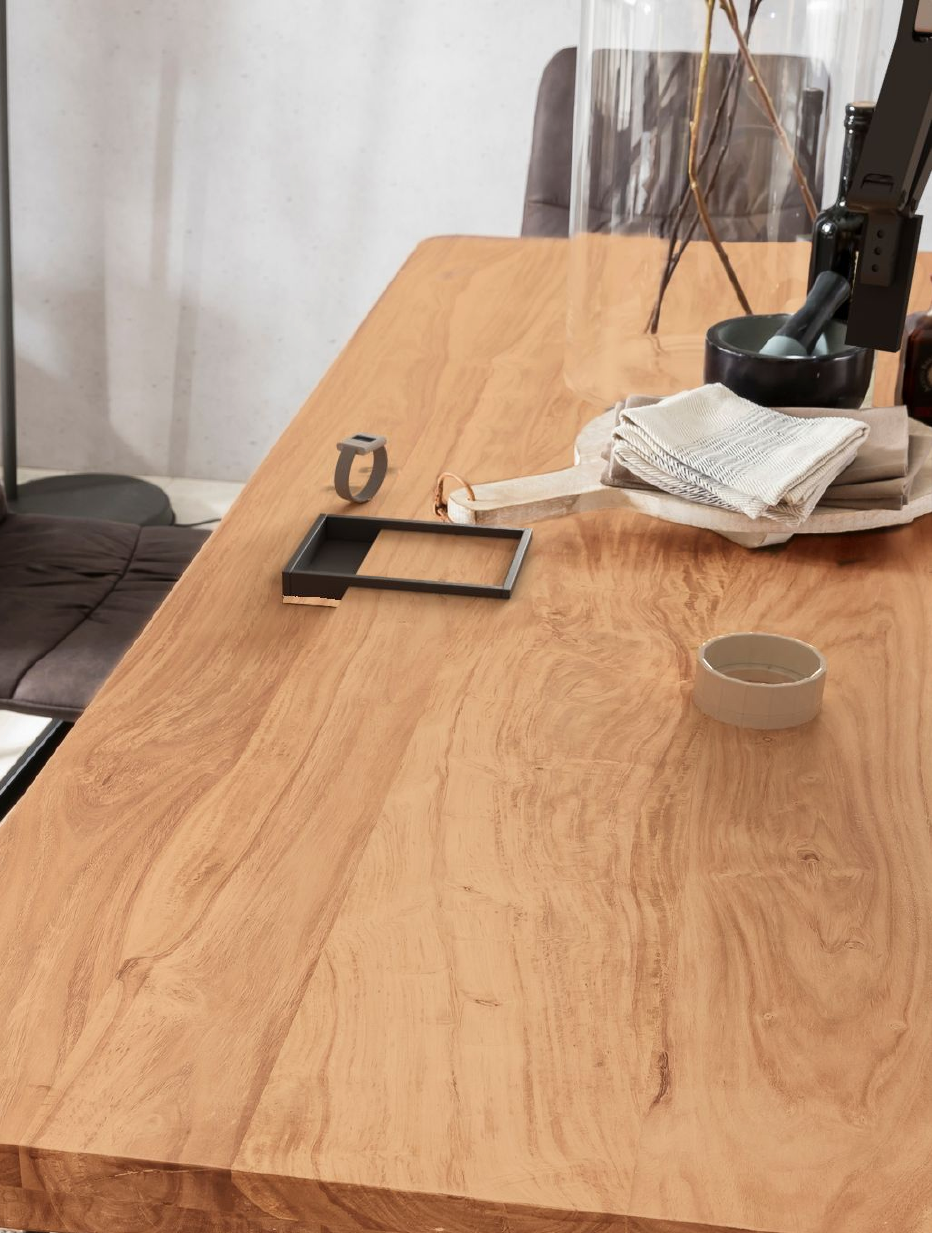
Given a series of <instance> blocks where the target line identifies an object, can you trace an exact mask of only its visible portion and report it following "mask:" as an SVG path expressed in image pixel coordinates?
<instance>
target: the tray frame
mask: <svg viewBox="0 0 932 1233" xmlns="http://www.w3.org/2000/svg"><path fill="white" fill-rule="evenodd" d="M317 516H318V517H317V518H316V519H315V520H314V522H313V524H312V526H311V527H310V529H309V530H308V531H307V533H306V535H305V536H304V537H303V539H302V541H301V542H300V543H299V545H298V546H297V548H296V550H295V551H294V553H293V554H292V556H291V557H290V559H289V560H288V561H287V563H286V565H285V566H284V567H283V569H282V571H281V589H282V590H281V592H282V594H281V595H282V596H283V595H284V596H295V597H296V596H298V597H320V598H327V599H335V600H341V601H343V600H342V599H343V598H344V597H345V595H346V593H347V591H348V589H349V588H363V589H374V590H375V589H376V590H387V591H397V592H398V591H402V592H412V593H413V592H414V593H423V594H424V593H425V594H437V595H448V596H449V595H450V596H463V597H474V598H487V599H498V600H499V599H500V600H511V597H512V594H513V592H514V589H515V586H516V584H517V581H518V578H519V575H520V573H521V570H522V567H523V566H524V562H525V560H526V556H527V553H528V551H529V548H530V545H531V543H532V540H533V533H534V529H533V528H528V527H516V526H515V527H513V526H502V525H501V526H500V525H488V524H487V525H485V524H474V523H460V522H445V521H432V520H420V519H419V520H418V519H405V518H391V517H390V518H389V517H379V516H378V517H377V516H362V515H350V514H336V513H324V512H323V513H319V515H317ZM382 530H386V531H400V532H412V533H413V532H415V533H427V534H430V533H431V534H439V535H453V536H454V535H455V536H465V537H467V536H468V537H469V536H470V537H482V538H495V539H509V540H511V539H512V540H519V543H518V546H517V549H516V551H515V554H514V557H513V559H512V561H511V564H510V567H509V570H508V573H507V575H506V577H505V580H504V583H503V585H491V584H490V585H489V584H479V583H478V584H476V583H466V582H465V583H464V582H453V581H452V582H451V581H440V580H429V579H427V580H426V579H414V578H403V577H389V576H377V575H367V574H365V575H364V574H357V573H358V572H359V570H360V569H361V567H362V565H363V563H364V561H365V559H366V557H367V556H368V554H369V552H370V550H371V549H372V547H373V545H374V544H375V542H376V540H377V538H378V536H379V535H380V533H381V531H382Z"/></svg>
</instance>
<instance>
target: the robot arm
mask: <svg viewBox="0 0 932 1233" xmlns="http://www.w3.org/2000/svg"><path fill="white" fill-rule="evenodd" d="M900 11H901V12H900V16H899V20H898V26H897V32H896V37H895V41H894V44H893V46H892V50H891V54H890V57H889V60H888V64H887V67H886V70H885V73H884V77H883V81H882V82H881V83H882V84H881V87H880V91H879V94H878V97H877V100H876V104H875V107H874V109H873V113H872V117H871V120H870V122H869V123H870V124H869V127H868V130H867V133H866V137H865V140H864V144H863V147H862V150H861V155H860V157H859V160H858V164H857V166H856V170H855V174H854V176H853V180H852V183H851V187H850V189H849V191H848V192H847V195H846V200H845V207H846V208H845V209H846V210H847V211H848V212H856V213H863V219H862V226H861V233H860V240H859V246H858V251H857V252H858V253H857V259H856V266H855V271H854V279H853V285H852V286H853V287H852V291H851V296H850V297H851V298H850V305H849V311H848V318H847V324H846V329H845V337H844V346H849V347H850V346H851V347H856V348H863V349H867V350H873V351H874V350H875V351H881V352H885V353H886V352H887V353H893V354H896V353H897V352H899V351H901V350H902V344H903V338H904V332H905V327H906V320H907V319H906V318H907V314H908V309H909V304H910V298H911V297H910V296H911V291H912V286H913V279H914V275H915V274H914V273H915V268H916V263H917V256H918V251H919V244H920V238H921V233H922V229H923V228H922V227H923V222H924V217H925V216H924V214H917V213H916V212H917V210H918V209H919V205H920V202H921V200H922V197H923V195H924V192H925V189H926V187H927V184H928V182H929V179H930V177H931V174H932V0H902V6H901V10H900Z"/></svg>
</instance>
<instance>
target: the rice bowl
mask: <svg viewBox="0 0 932 1233" xmlns="http://www.w3.org/2000/svg"><path fill="white" fill-rule="evenodd" d="M695 664H696V665H695V671H694V672H695V673H694V681H693V682H694V683H693V688H692V698H691V699H692V702H693V703H694V704H695V706H696V707H697V709H698V710H699V711H700V712H701V713H703V714H705V715H707V716H708V717H711V718H712V719H714V720H715V721H718V722H720V723H725V724H728V725H732V726H735V727H739V728H743V729H755V730H765V731H770V730H781V729H782V730H783V729H792V728H795V727H797V726H801V725H803V724H807V723H810V722H811V721H812V720H813V719H814V718H816V716H818V715H819V714H820V712H821V708H822V702H823V695H824V690H825V685H826V678H827V671H828V661H827V658H826V656H824V655H823V654H822V652H821V651H820V650H819V649H818V648H817V647H814V646H813V645H810V644H809V643H807V642H804V641H802V640H800V639H797V638H793V637H790V636H785V635H782V634H777V633H769V632H757V631H746V632H734V633H726V634H722V635H719V636H716V637H713V638H709V639H708V640H707V641H706V642H705V643H703V644H702V645H701V646H699V647H698V649H697V655H696V663H695ZM750 681H752V682H750ZM760 682H764V683H760Z"/></svg>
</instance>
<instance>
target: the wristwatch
mask: <svg viewBox="0 0 932 1233" xmlns="http://www.w3.org/2000/svg"><path fill="white" fill-rule="evenodd" d="M387 443H388V440H387V437H386V436H384V435H378V434H373V433H368V432H365V431H358V432H357V433H355V434H353V435H350V436H349V437H347V438H344V439H343V440H341V441H338V442H337V443H336V445H335V446H336V447H335V448H336V450H337V451H339V452H340V453H339V456H338V458H337V462H336V466H335V469H334V476H333V478H334V479H333V482H334V483H333V484H334V489H335V492H336V494H337V496H338V497H339V498H340V499H342V500H344V501H347V502H348V501H349V502H353V503H358V504H359V503H360V504H362V502H363V503H366V502H368V501H369V500H368V499H370V498H371V499H373V498H374V497H375V496H376V494H378V492H379V490H381V487H382V485H383V484H384V480H385V478H386V475H387V471H388V465H389V457H388V451H387V448H386V445H387ZM370 453H372V456H373V457H372V458H373V462H372V468H371V472H370V475H369V478H368V480H367V481H366V484H365V485H364V487H363V488H362V489H361V490H360V492H358V493H357V494H356V495H353V494H352V492H351V489H350V474H351V471H352V466H353V463H354V460H355V457H356V455H357V456H362V457H364V456H366V455H368V454H370ZM373 496H374V497H373ZM371 499H370V500H371ZM367 500H368V501H367ZM365 501H366V502H365Z"/></svg>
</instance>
